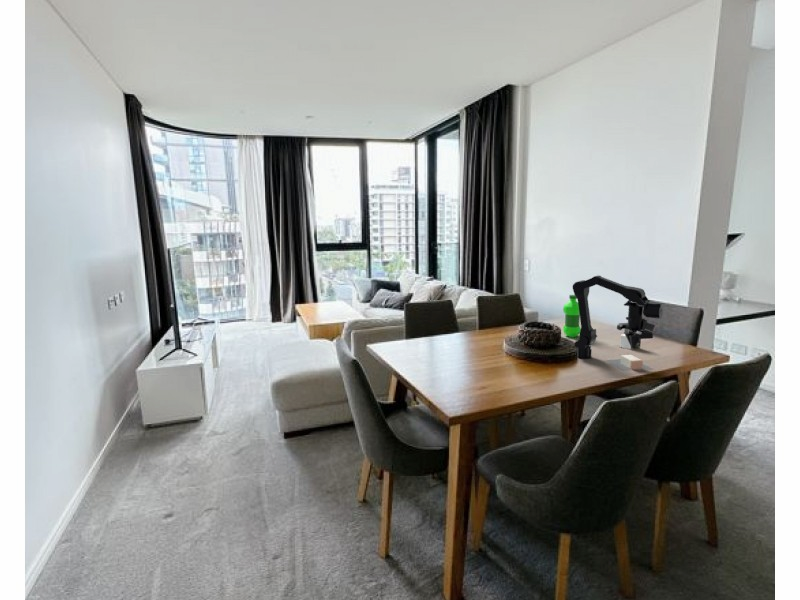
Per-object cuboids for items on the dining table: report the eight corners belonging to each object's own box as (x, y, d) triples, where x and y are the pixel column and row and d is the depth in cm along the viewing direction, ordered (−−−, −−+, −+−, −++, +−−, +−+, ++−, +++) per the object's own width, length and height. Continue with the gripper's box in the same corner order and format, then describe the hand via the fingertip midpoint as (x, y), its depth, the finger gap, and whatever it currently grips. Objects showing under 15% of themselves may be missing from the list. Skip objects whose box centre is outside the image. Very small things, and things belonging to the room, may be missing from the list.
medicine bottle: (630, 350, 217) (632, 328, 215) (619, 347, 224) (620, 325, 222) (640, 348, 220) (642, 327, 218) (628, 345, 227) (630, 324, 224)
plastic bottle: (582, 334, 251) (583, 294, 246) (579, 339, 242) (580, 297, 237) (564, 333, 256) (566, 293, 251) (561, 337, 247) (562, 296, 243)
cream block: (620, 363, 198) (631, 369, 189) (620, 355, 197) (632, 361, 188) (630, 362, 198) (642, 369, 189) (630, 354, 197) (642, 360, 188)
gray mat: (622, 371, 188) (622, 370, 188) (604, 361, 203) (605, 360, 203) (652, 370, 189) (652, 368, 189) (632, 359, 203) (632, 358, 203)
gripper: (666, 319, 179) (663, 353, 182) (639, 310, 198) (637, 342, 201) (641, 320, 179) (639, 355, 182) (617, 312, 197) (615, 343, 200)
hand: (633, 348), depth 191 cm, fingers closed
